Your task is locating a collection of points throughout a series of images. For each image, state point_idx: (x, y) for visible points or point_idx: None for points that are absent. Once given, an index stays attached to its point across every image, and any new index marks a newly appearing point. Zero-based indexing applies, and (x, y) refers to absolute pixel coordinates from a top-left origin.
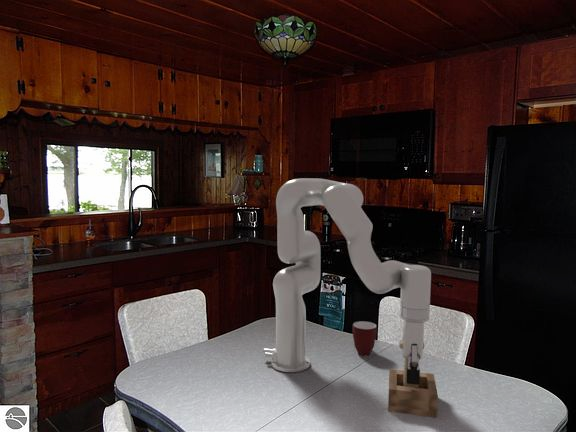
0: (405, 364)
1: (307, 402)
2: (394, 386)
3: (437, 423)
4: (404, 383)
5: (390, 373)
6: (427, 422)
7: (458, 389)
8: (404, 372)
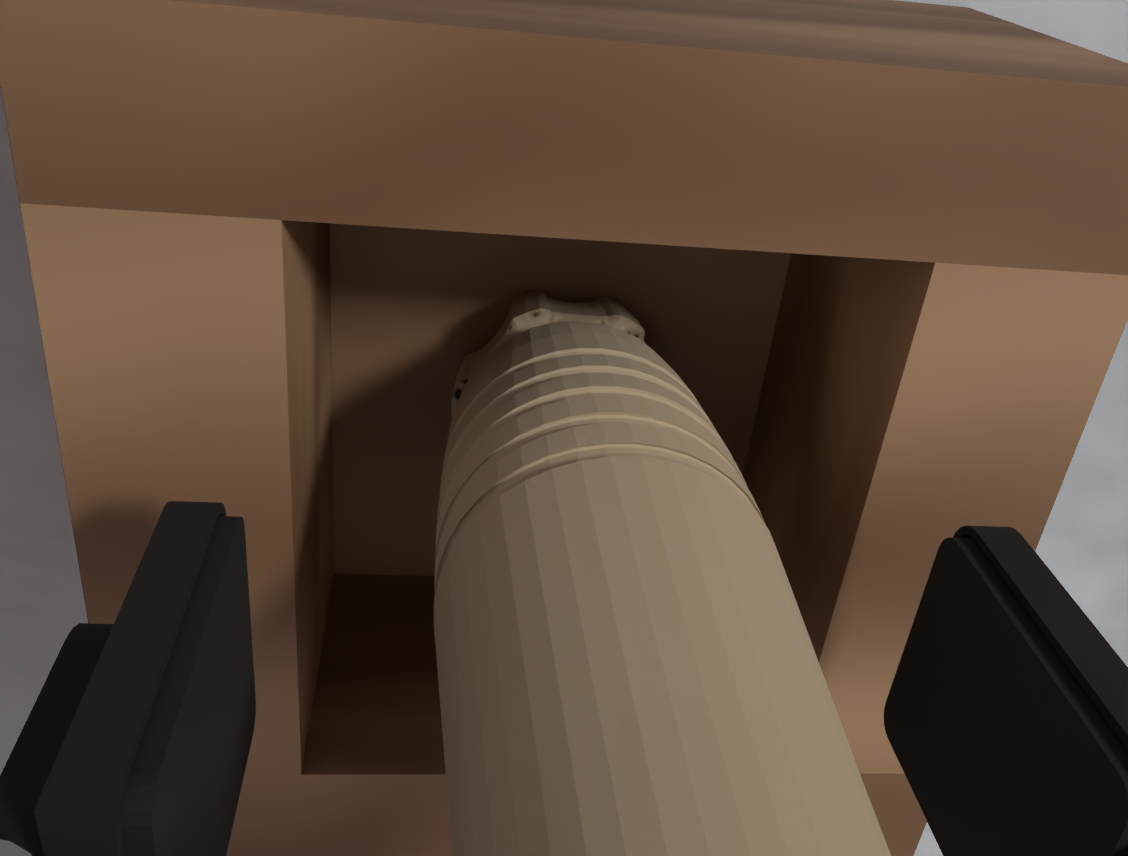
0: (582, 721)
1: None
2: (196, 158)
3: (70, 598)
4: (535, 386)
5: (953, 105)
6: (43, 495)
7: (934, 845)
8: (564, 527)
